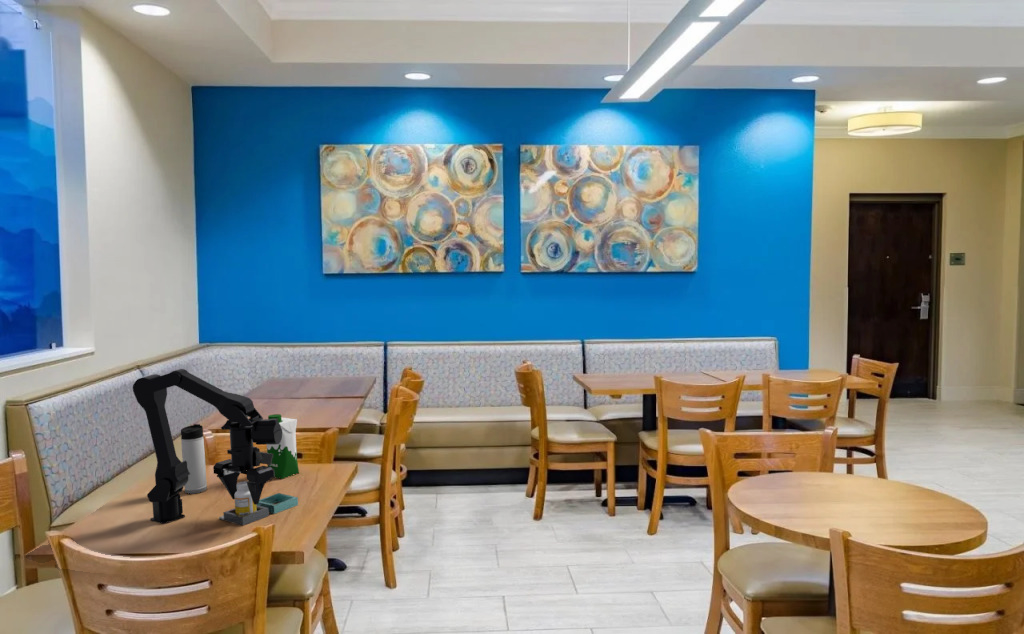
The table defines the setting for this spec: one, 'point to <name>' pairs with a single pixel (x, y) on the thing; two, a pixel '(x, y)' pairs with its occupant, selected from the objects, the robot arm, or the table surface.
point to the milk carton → (284, 449)
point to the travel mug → (194, 458)
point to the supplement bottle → (243, 500)
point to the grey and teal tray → (262, 509)
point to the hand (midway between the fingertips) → (245, 501)
